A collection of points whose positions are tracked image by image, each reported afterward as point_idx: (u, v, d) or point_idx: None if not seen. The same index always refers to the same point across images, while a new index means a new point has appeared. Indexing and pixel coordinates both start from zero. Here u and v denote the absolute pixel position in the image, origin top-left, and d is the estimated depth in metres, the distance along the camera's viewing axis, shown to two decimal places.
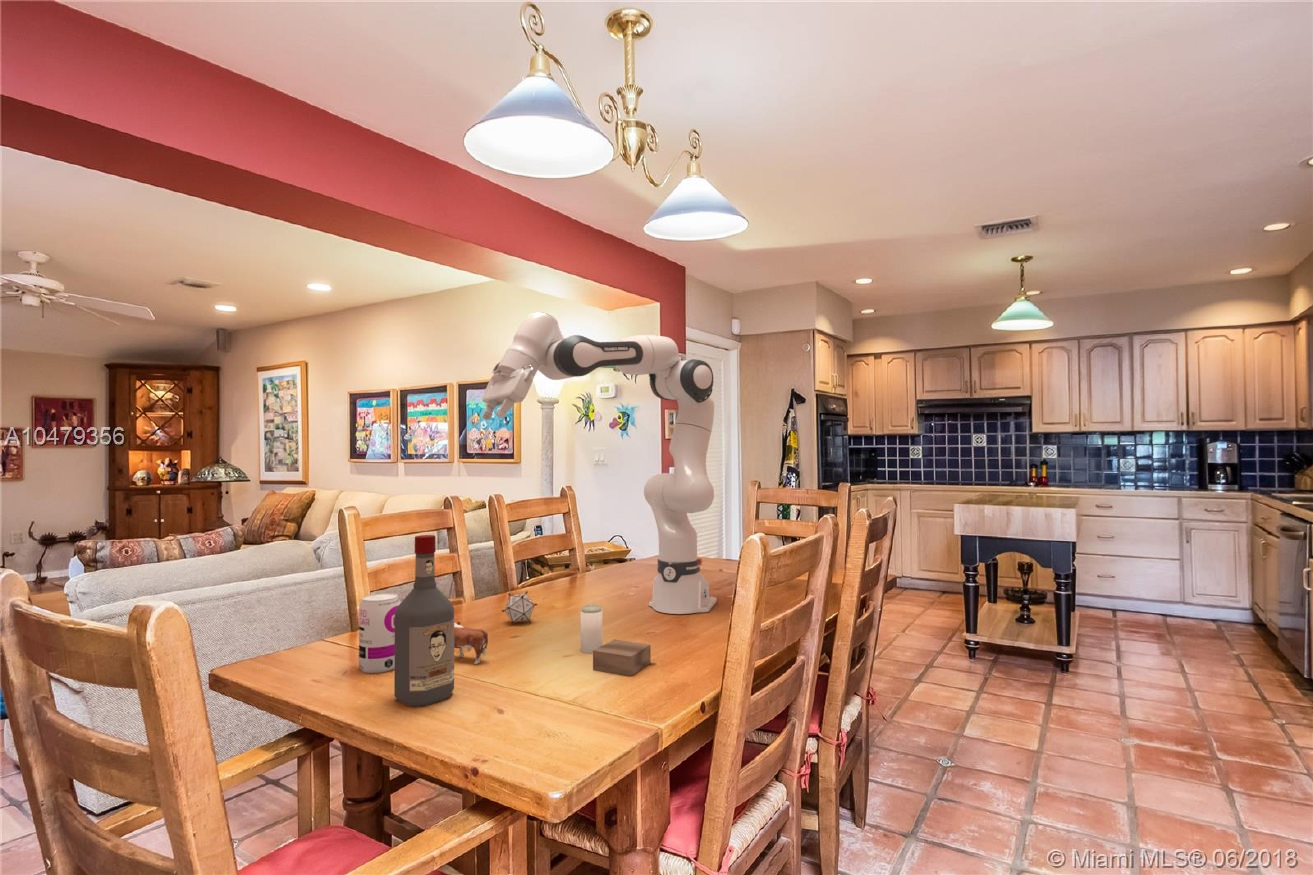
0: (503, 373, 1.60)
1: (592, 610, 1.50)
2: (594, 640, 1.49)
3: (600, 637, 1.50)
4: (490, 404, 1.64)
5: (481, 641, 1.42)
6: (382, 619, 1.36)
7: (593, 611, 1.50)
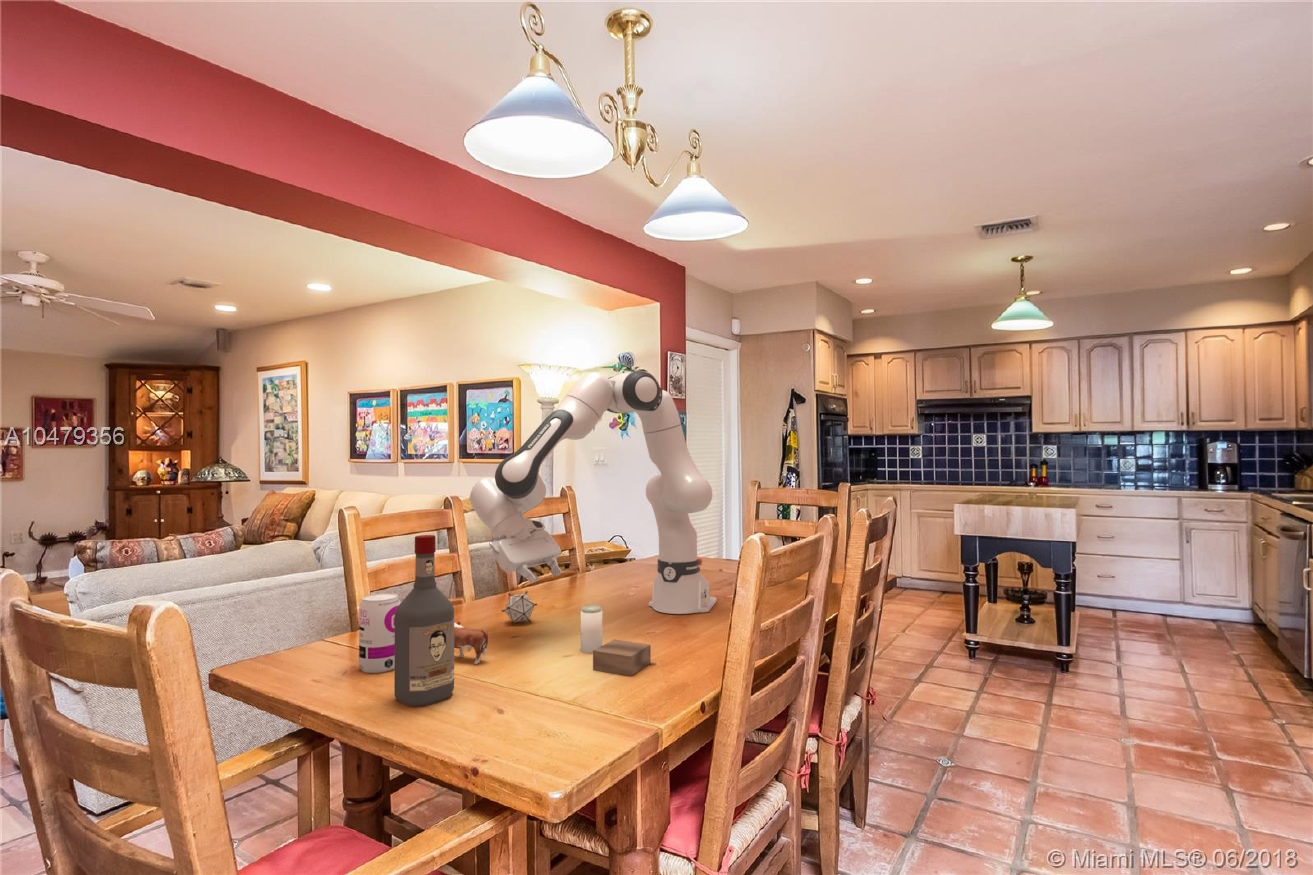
0: None
1: (592, 610, 1.50)
2: (594, 640, 1.49)
3: (600, 637, 1.50)
4: (548, 562, 1.63)
5: (481, 641, 1.42)
6: (382, 619, 1.36)
7: (593, 611, 1.50)
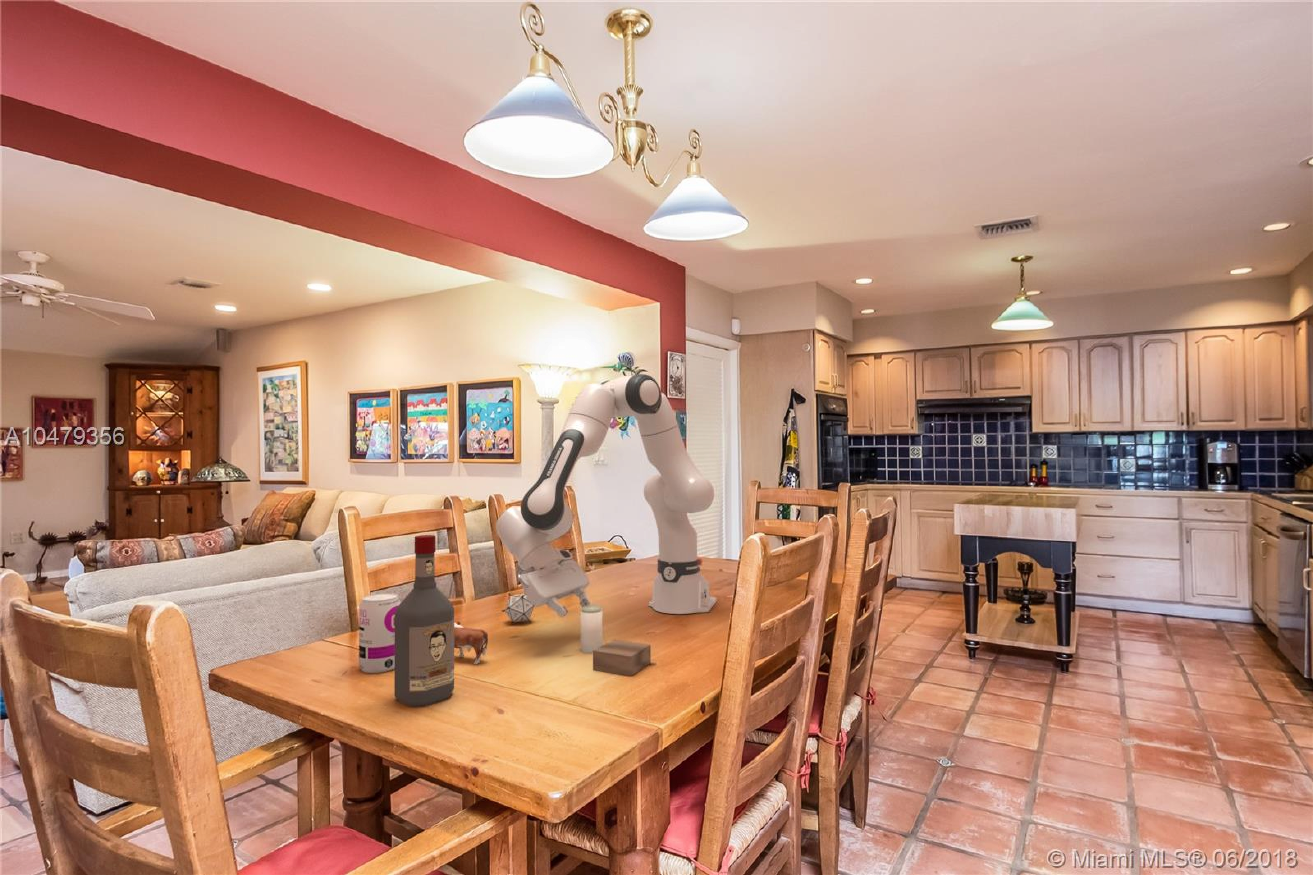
0: None
1: (592, 610, 1.50)
2: (594, 640, 1.49)
3: (600, 637, 1.50)
4: (577, 594, 1.60)
5: (481, 641, 1.42)
6: (382, 619, 1.36)
7: (593, 611, 1.50)
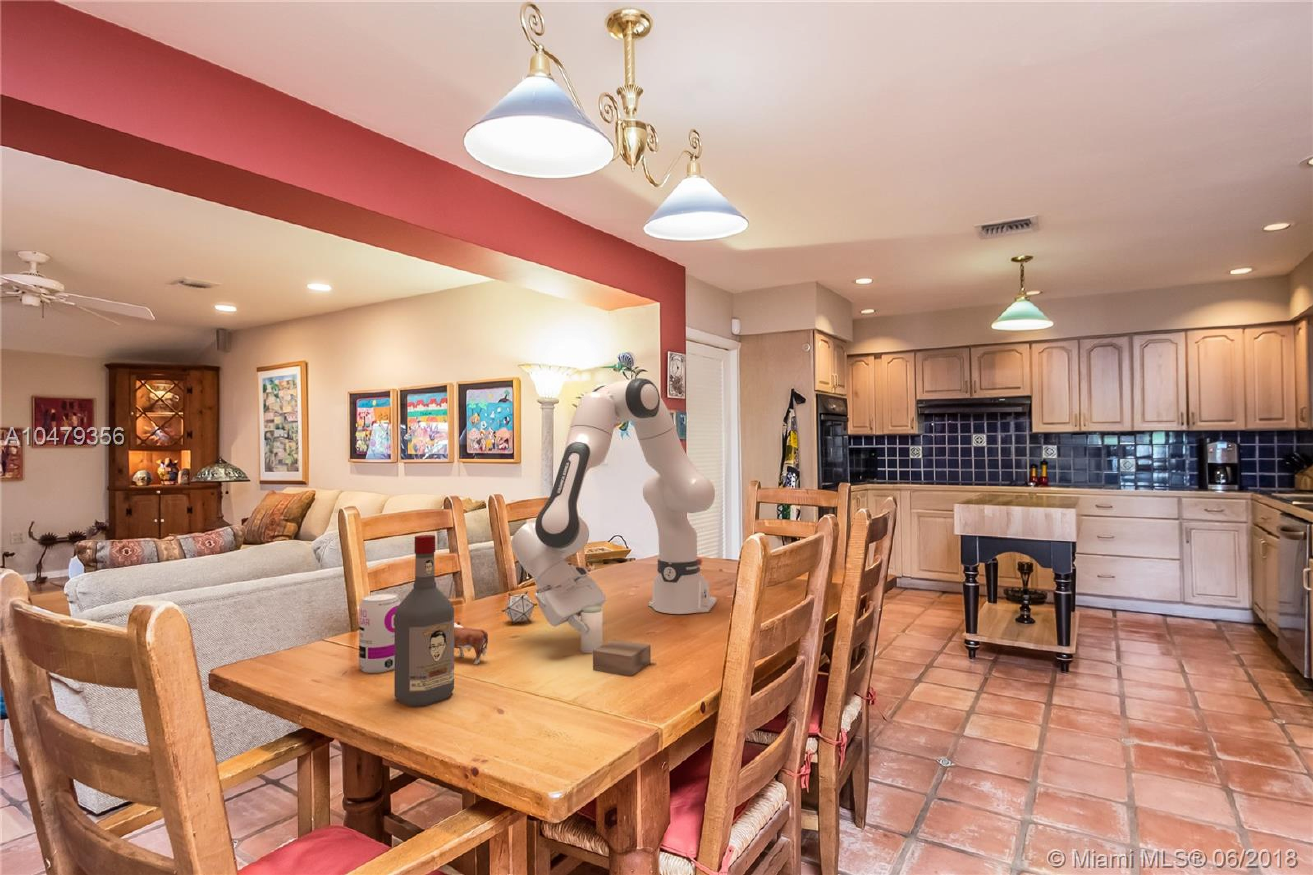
0: None
1: (592, 610, 1.50)
2: (594, 640, 1.49)
3: (600, 637, 1.50)
4: None
5: (481, 641, 1.42)
6: (382, 619, 1.36)
7: (593, 611, 1.50)
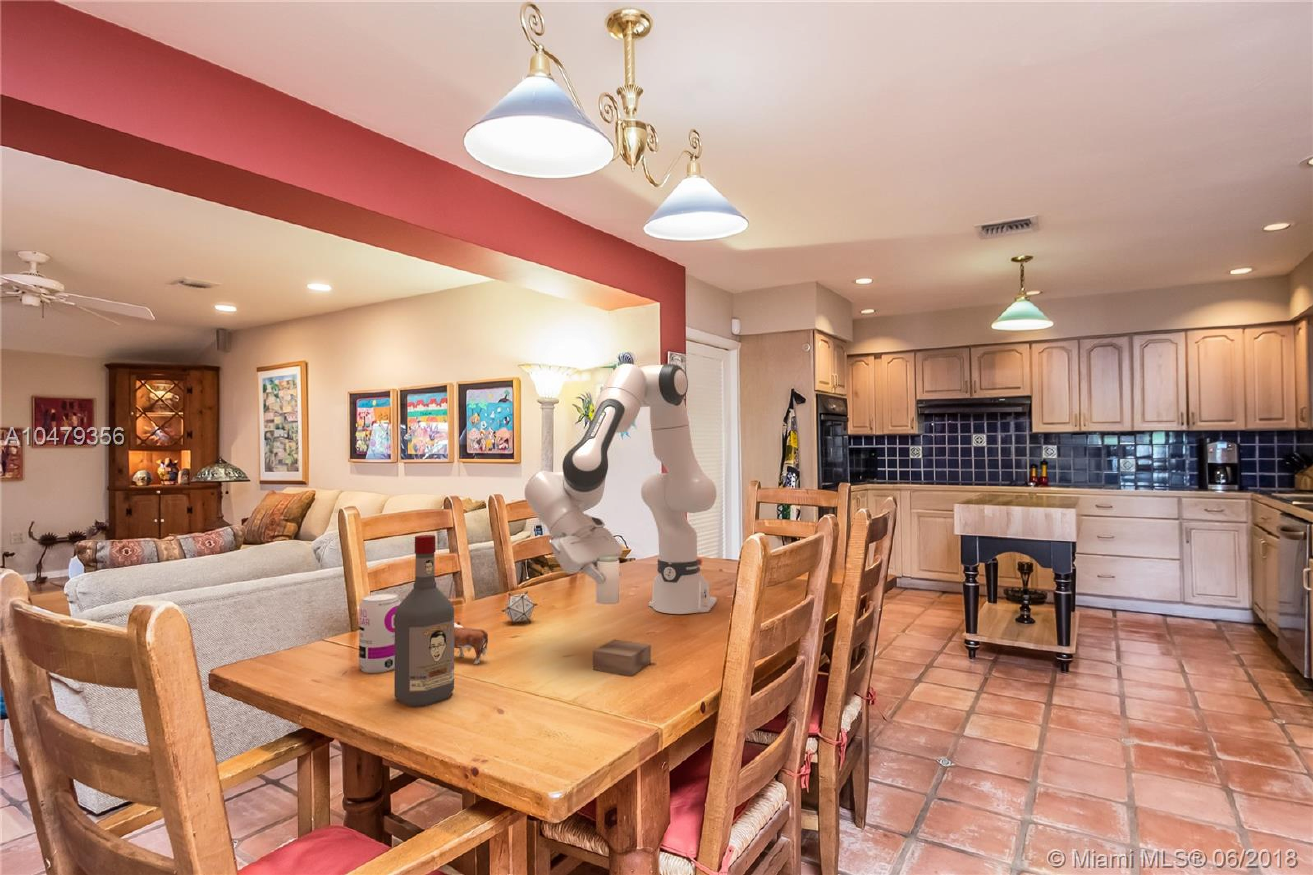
0: None
1: (609, 559, 1.42)
2: (610, 590, 1.42)
3: (617, 588, 1.43)
4: None
5: (481, 641, 1.42)
6: (382, 619, 1.36)
7: (610, 560, 1.42)
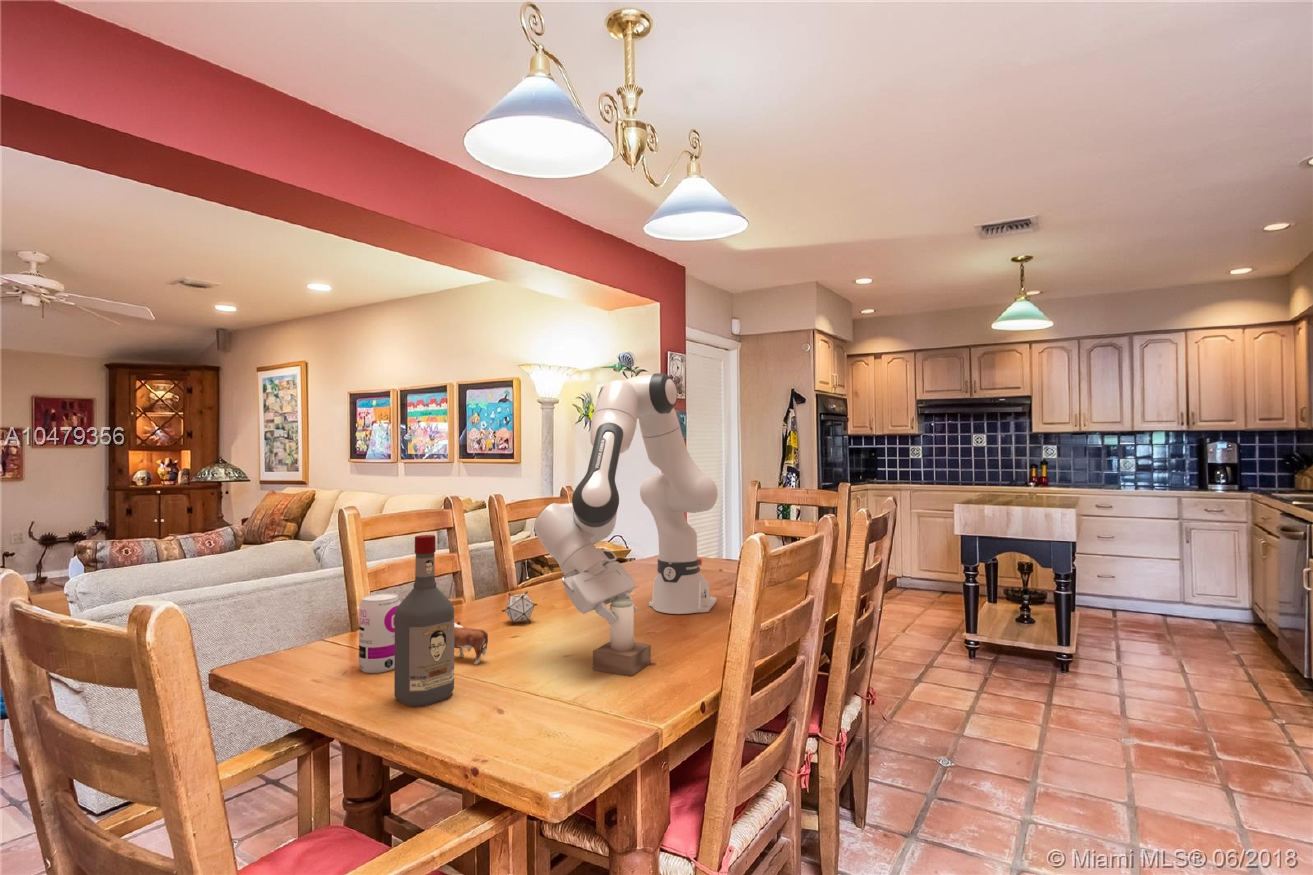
0: None
1: (623, 604, 1.38)
2: (625, 636, 1.38)
3: (632, 633, 1.39)
4: None
5: (481, 641, 1.42)
6: (382, 619, 1.36)
7: (624, 605, 1.38)
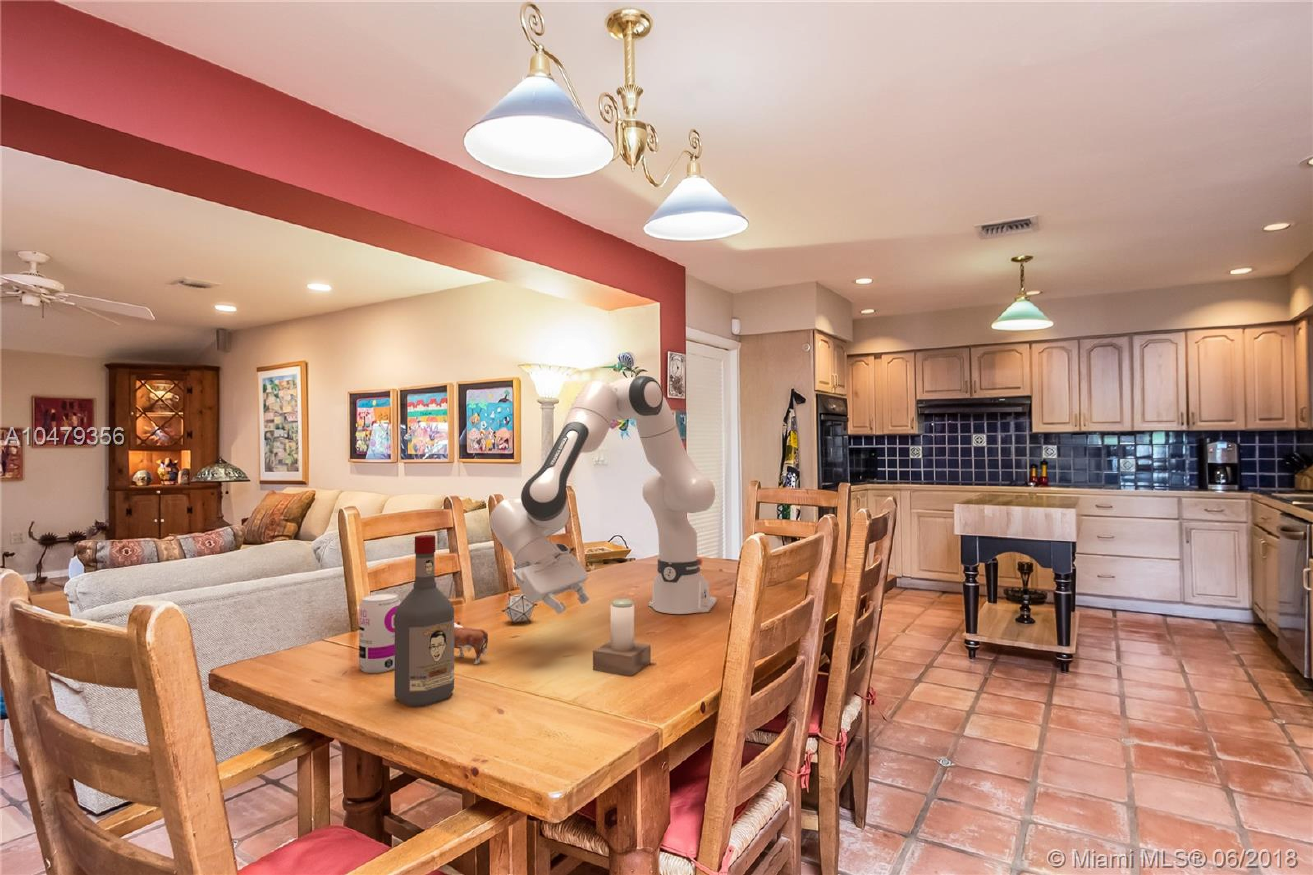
0: None
1: (623, 604, 1.38)
2: (625, 636, 1.38)
3: (632, 633, 1.39)
4: (575, 589, 1.52)
5: (481, 641, 1.42)
6: (382, 619, 1.36)
7: (624, 605, 1.38)
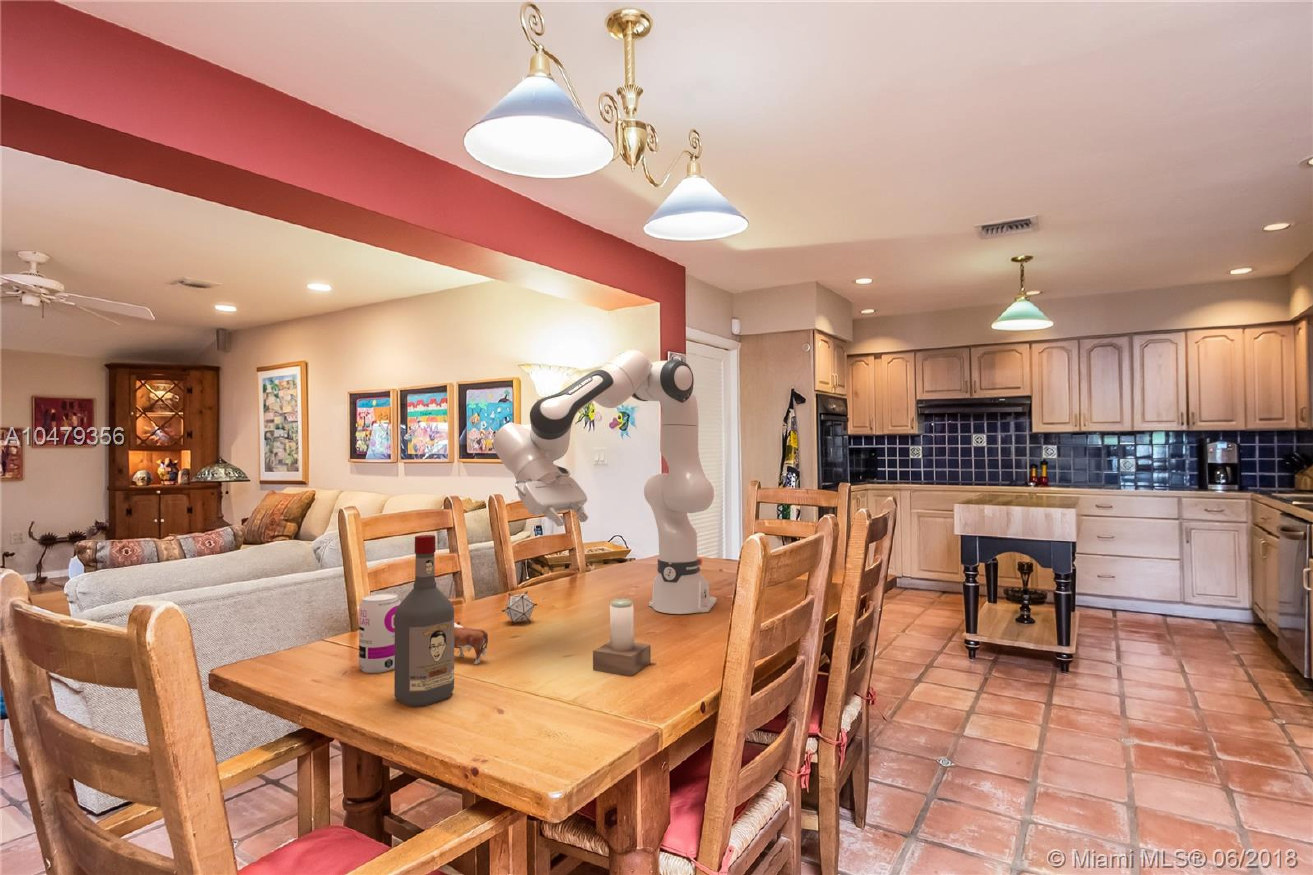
0: None
1: (622, 604, 1.38)
2: (625, 636, 1.38)
3: (631, 633, 1.39)
4: (574, 509, 1.58)
5: (481, 641, 1.42)
6: (382, 619, 1.36)
7: (623, 605, 1.38)
